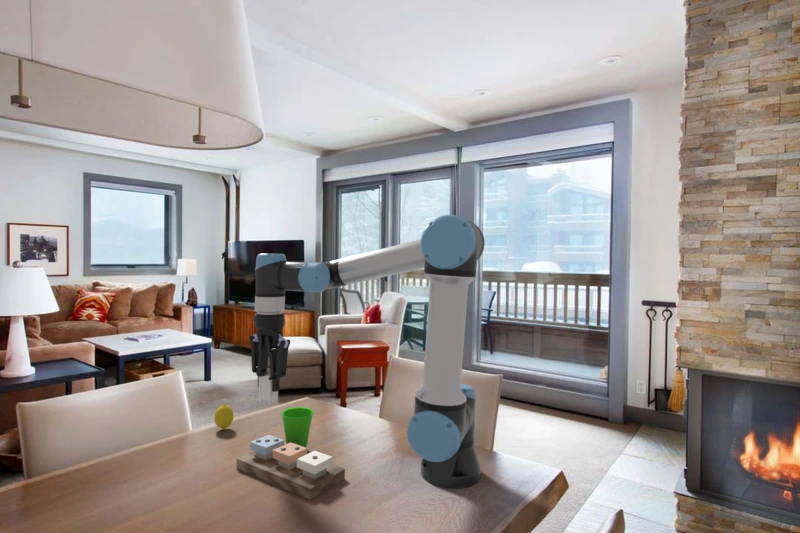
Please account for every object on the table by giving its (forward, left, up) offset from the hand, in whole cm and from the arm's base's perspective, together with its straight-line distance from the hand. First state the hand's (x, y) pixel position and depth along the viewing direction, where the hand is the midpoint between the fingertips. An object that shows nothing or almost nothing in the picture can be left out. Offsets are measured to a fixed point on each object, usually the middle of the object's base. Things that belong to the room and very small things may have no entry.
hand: (268, 401), depth 119 cm
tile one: (-17, 0, -15) cm, 23 cm away
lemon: (+30, -8, -17) cm, 35 cm away
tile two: (-8, 0, -15) cm, 17 cm away
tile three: (0, 0, -15) cm, 15 cm away
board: (-8, 0, -17) cm, 19 cm away
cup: (0, -11, -17) cm, 20 cm away
